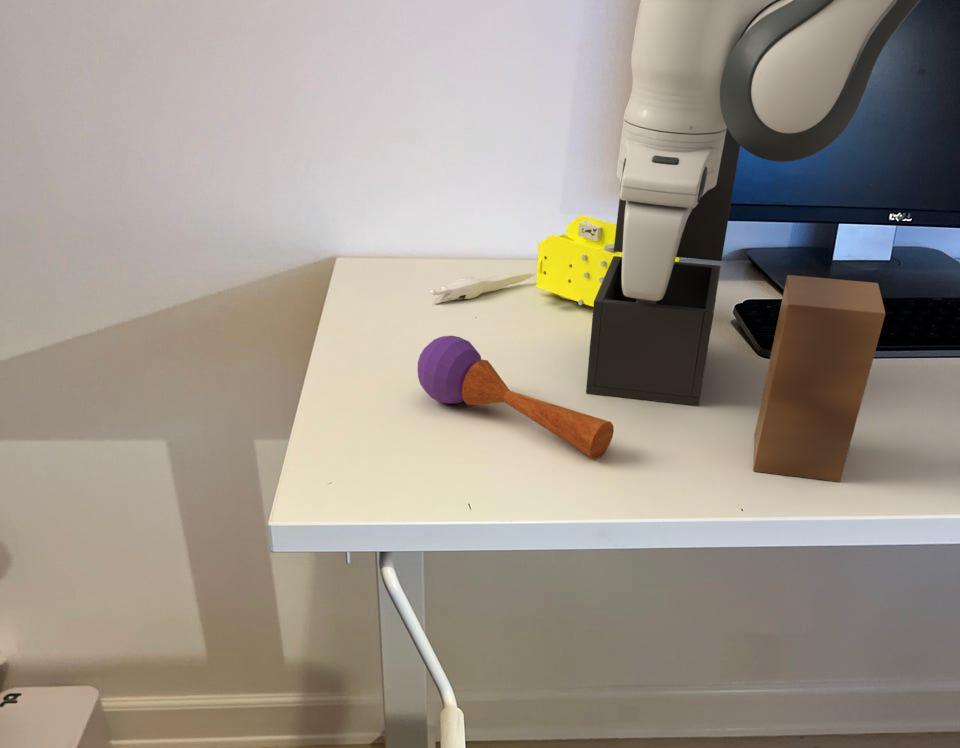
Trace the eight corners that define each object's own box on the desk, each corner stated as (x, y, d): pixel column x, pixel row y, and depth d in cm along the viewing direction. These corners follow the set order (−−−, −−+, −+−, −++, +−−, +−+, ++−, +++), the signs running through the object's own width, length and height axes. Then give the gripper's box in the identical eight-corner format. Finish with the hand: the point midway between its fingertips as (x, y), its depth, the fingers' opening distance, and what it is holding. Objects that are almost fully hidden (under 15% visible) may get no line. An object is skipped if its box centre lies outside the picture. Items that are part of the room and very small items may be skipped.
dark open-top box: (698, 406, 92) (713, 312, 87) (585, 393, 94) (593, 300, 89) (706, 352, 103) (720, 265, 97) (605, 341, 105) (613, 255, 99)
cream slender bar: (437, 308, 112) (437, 291, 110) (424, 301, 113) (424, 284, 112) (541, 284, 119) (542, 268, 117) (528, 278, 120) (529, 262, 119)
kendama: (581, 428, 79) (400, 345, 88) (579, 486, 84) (407, 401, 93) (624, 393, 82) (445, 315, 91) (620, 451, 87) (449, 371, 96)
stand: (836, 444, 87) (878, 282, 78) (839, 482, 81) (885, 313, 73) (754, 434, 88) (787, 274, 79) (752, 471, 82) (787, 303, 74)
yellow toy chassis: (674, 320, 110) (685, 242, 105) (642, 332, 107) (651, 253, 102) (566, 284, 119) (571, 210, 114) (533, 294, 116) (537, 219, 110)
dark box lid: (748, 93, 90) (748, 95, 95) (632, 86, 92) (637, 88, 96) (721, 261, 97) (722, 255, 101) (613, 251, 99) (618, 246, 103)
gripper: (645, 131, 95) (625, 277, 104) (619, 183, 79) (597, 349, 88) (711, 138, 94) (685, 284, 103) (698, 192, 78) (668, 359, 87)
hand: (644, 315), depth 95 cm, fingers closed, pressing on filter
